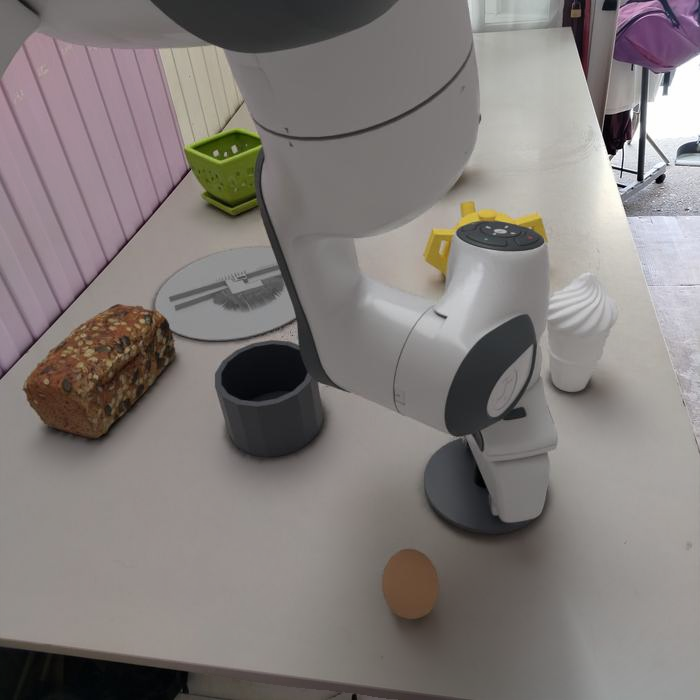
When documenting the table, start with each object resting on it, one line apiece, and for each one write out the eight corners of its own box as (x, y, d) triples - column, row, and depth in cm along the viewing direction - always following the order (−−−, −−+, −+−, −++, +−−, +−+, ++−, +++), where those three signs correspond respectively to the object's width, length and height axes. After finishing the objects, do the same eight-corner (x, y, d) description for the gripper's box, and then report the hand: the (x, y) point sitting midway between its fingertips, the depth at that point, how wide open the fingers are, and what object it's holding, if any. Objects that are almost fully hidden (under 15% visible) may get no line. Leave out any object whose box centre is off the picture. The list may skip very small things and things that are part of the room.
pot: (328, 447, 77) (320, 395, 71) (229, 465, 76) (214, 413, 71) (317, 383, 86) (309, 333, 81) (229, 398, 85) (215, 349, 80)
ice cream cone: (583, 413, 77) (604, 304, 67) (523, 385, 82) (534, 280, 72) (614, 376, 82) (638, 270, 72) (555, 353, 87) (569, 250, 77)
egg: (441, 584, 61) (441, 535, 56) (437, 636, 57) (437, 588, 52) (387, 578, 62) (383, 529, 57) (380, 629, 58) (375, 581, 53)
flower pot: (195, 204, 135) (180, 146, 127) (248, 182, 142) (237, 125, 134) (232, 223, 126) (218, 162, 118) (287, 199, 133) (277, 139, 125)
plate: (292, 234, 120) (291, 228, 120) (348, 307, 100) (347, 301, 99) (144, 274, 113) (142, 268, 113) (171, 362, 93) (169, 355, 92)
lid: (567, 524, 65) (572, 495, 62) (442, 548, 64) (442, 519, 61) (520, 434, 76) (523, 405, 73) (411, 453, 75) (410, 425, 72)
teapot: (517, 233, 113) (522, 174, 107) (561, 286, 99) (570, 222, 92) (408, 251, 112) (406, 192, 105) (437, 308, 97) (436, 244, 91)
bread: (102, 445, 80) (74, 386, 74) (38, 427, 84) (6, 370, 78) (183, 355, 94) (165, 299, 87) (125, 344, 97) (104, 289, 91)
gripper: (430, 323, 68) (431, 416, 77) (493, 465, 52) (486, 562, 61) (487, 314, 69) (482, 407, 77) (567, 451, 53) (549, 549, 61)
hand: (484, 476), depth 69 cm, fingers open, 7 cm apart
